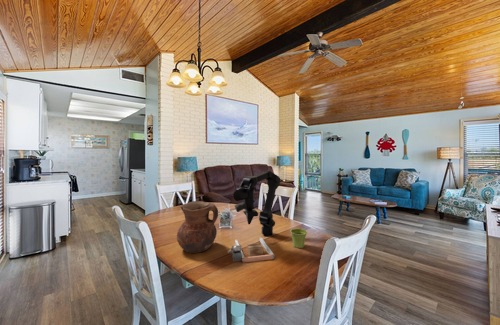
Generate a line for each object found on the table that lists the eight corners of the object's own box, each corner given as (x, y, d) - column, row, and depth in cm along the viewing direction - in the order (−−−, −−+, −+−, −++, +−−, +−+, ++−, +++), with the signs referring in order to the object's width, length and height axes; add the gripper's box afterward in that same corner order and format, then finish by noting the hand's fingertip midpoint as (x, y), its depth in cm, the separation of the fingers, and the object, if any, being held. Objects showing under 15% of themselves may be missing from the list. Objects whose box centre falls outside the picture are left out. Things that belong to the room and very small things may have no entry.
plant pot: (297, 251, 119) (297, 235, 118) (286, 244, 127) (287, 230, 127) (310, 247, 123) (310, 232, 123) (299, 241, 131) (299, 227, 131)
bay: (261, 240, 132) (261, 237, 132) (274, 258, 110) (274, 254, 110) (235, 243, 129) (235, 239, 128) (242, 262, 106) (242, 258, 106)
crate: (259, 250, 119) (259, 242, 119) (262, 255, 113) (262, 247, 113) (247, 251, 117) (247, 244, 117) (249, 257, 112) (249, 248, 111)
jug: (178, 259, 109) (178, 210, 107) (175, 243, 128) (174, 201, 127) (221, 251, 117) (221, 206, 116) (212, 237, 137) (212, 198, 135)
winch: (240, 256, 112) (240, 243, 112) (242, 262, 107) (242, 248, 106) (226, 258, 110) (226, 245, 110) (228, 263, 105) (228, 250, 105)
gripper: (233, 195, 135) (233, 220, 136) (238, 202, 117) (238, 230, 117) (250, 194, 138) (250, 219, 138) (258, 201, 119) (258, 229, 120)
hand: (249, 224), depth 128 cm, fingers closed
